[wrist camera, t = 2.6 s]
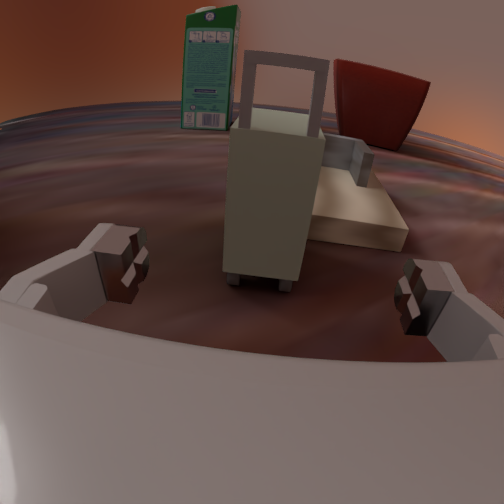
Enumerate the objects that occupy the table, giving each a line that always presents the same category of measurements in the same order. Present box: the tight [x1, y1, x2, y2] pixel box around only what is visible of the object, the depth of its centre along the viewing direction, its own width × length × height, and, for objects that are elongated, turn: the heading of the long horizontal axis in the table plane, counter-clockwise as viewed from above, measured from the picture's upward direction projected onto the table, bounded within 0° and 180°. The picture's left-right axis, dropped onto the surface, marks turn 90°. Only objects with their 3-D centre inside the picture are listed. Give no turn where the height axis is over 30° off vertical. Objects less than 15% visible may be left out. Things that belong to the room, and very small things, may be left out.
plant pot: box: [334, 59, 431, 150], centre depth 62 cm, size 19×19×17 cm
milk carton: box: [181, 5, 241, 131], centre depth 54 cm, size 9×9×25 cm
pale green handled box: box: [222, 50, 330, 292], centre depth 21 cm, size 5×7×15 cm
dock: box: [307, 133, 409, 252], centre depth 33 cm, size 16×15×6 cm
